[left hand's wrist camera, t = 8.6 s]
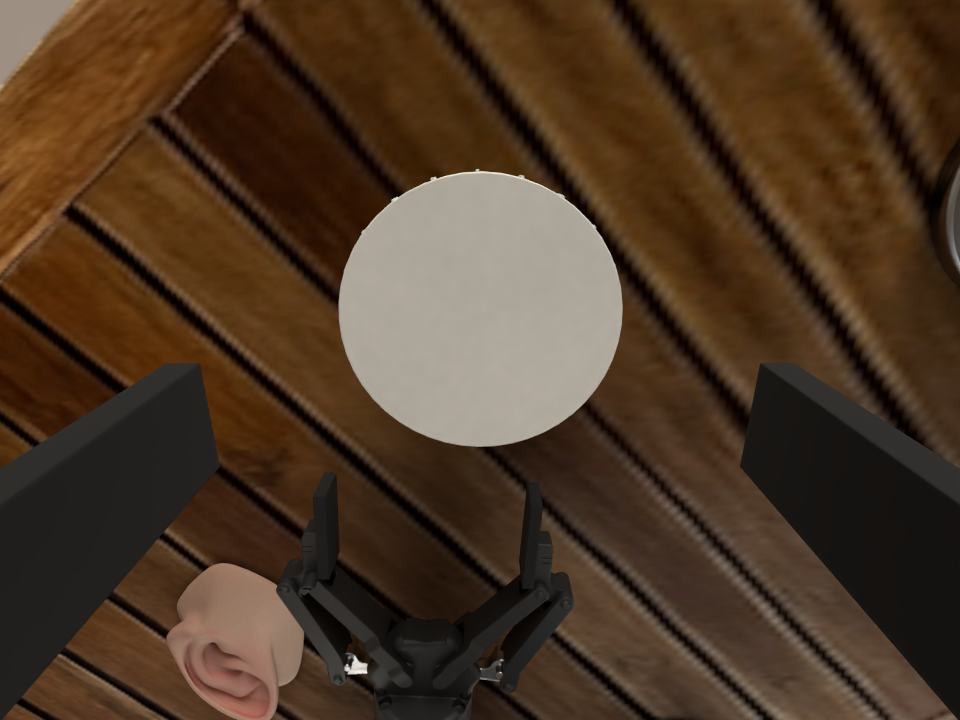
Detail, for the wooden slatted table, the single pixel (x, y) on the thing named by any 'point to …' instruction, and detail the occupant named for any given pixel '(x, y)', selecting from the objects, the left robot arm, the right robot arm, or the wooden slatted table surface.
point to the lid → (480, 309)
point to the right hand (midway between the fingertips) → (430, 488)
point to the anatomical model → (236, 641)
